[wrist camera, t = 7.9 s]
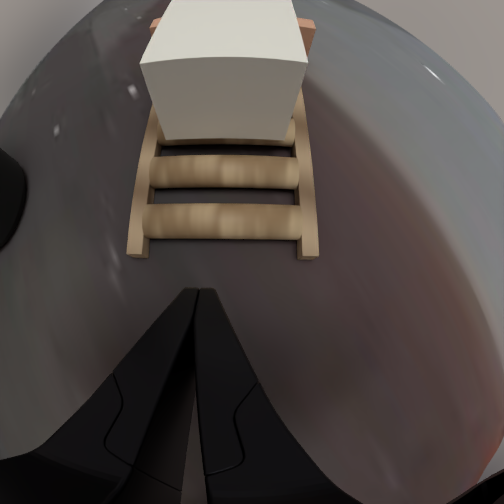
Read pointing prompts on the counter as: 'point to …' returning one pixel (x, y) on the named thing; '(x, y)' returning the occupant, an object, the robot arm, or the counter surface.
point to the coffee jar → (10, 195)
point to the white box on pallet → (225, 68)
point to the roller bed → (225, 175)
